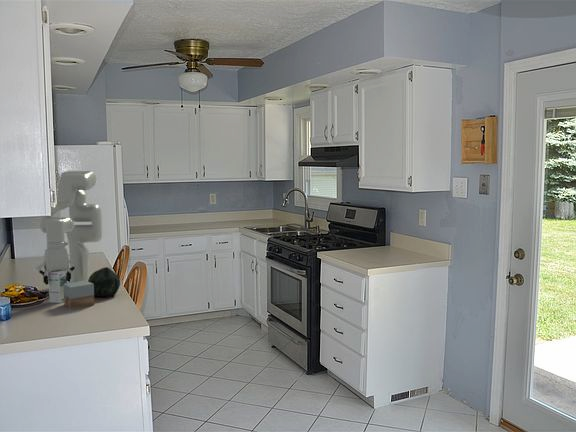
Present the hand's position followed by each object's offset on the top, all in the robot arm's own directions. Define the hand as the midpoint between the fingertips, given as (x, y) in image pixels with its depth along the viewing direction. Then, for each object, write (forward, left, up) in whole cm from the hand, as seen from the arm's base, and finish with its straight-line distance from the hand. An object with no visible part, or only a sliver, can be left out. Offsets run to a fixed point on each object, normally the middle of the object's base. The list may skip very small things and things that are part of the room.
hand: (57, 282), depth 244 cm
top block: (+13, +5, -4) cm, 15 cm away
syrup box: (0, 0, -9) cm, 9 cm away
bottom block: (+13, +5, -9) cm, 16 cm away
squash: (+3, +20, -9) cm, 22 cm away
